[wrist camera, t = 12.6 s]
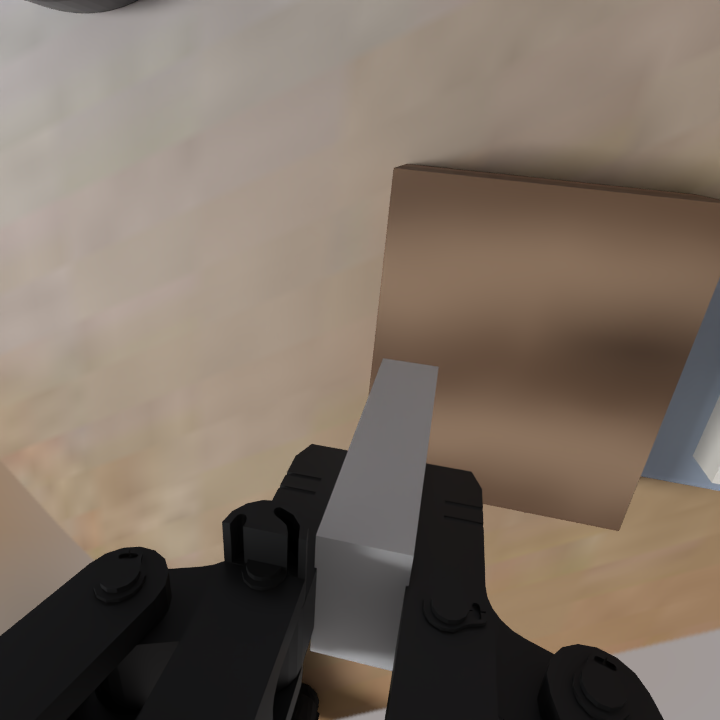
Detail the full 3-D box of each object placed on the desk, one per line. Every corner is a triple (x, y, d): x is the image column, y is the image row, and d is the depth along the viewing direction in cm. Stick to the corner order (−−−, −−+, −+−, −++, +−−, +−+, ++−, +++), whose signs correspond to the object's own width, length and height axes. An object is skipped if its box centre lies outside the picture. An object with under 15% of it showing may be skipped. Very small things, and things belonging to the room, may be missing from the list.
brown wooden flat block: (407, 163, 20) (393, 168, 17) (694, 194, 19) (748, 206, 15) (374, 432, 26) (359, 478, 22) (596, 473, 24) (618, 531, 21)
